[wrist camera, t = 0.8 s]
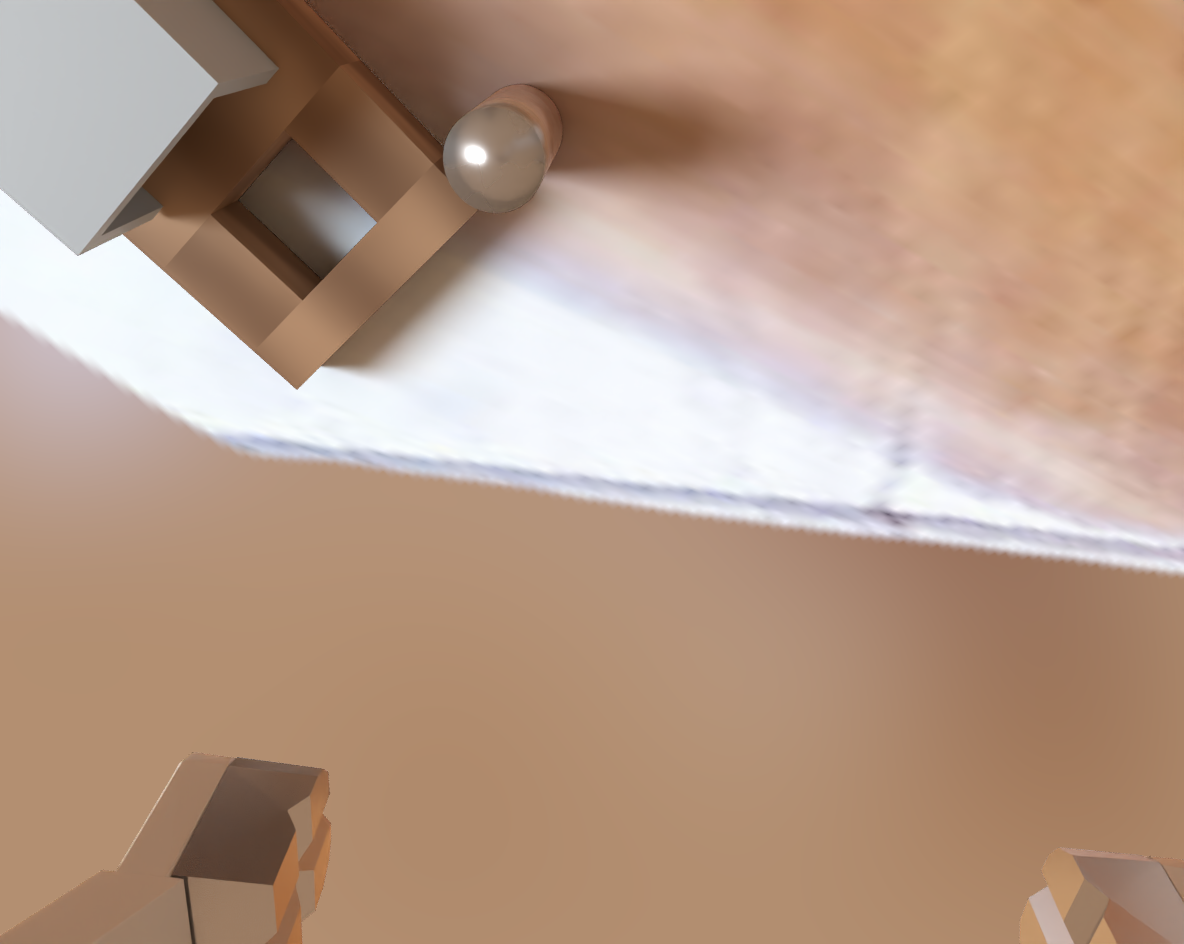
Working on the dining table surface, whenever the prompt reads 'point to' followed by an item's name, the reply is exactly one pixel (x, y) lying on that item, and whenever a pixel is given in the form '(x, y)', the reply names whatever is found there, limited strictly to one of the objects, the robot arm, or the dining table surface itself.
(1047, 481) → the dining table surface
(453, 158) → the stub peg
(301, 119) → the socket block
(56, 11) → the housing cap
